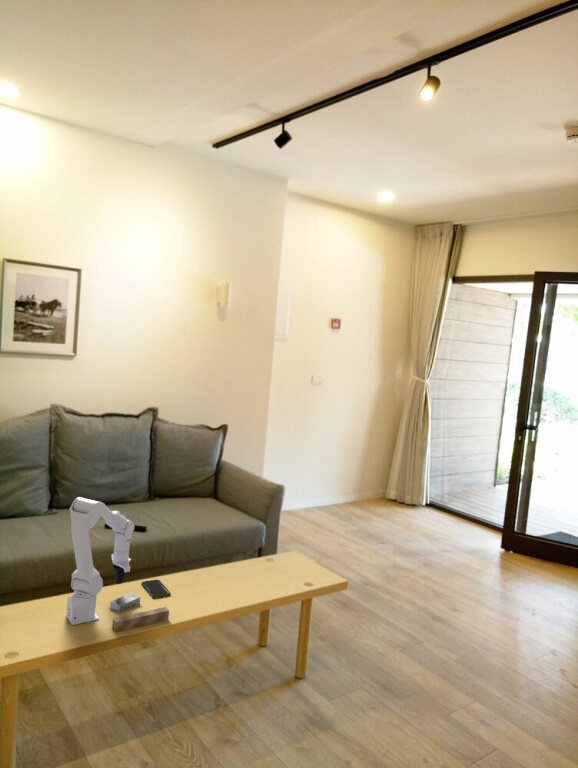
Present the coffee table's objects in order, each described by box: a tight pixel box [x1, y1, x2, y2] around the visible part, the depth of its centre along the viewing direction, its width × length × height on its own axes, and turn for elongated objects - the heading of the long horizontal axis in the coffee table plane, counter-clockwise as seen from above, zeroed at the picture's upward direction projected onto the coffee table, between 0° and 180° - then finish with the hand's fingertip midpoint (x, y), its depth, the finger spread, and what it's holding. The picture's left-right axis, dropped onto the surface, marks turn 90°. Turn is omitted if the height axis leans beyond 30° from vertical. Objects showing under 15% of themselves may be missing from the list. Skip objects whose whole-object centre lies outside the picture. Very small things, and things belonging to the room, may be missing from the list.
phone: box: [140, 579, 171, 600], centre depth 227 cm, size 8×1×15 cm
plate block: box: [109, 592, 141, 613], centre depth 211 cm, size 10×5×3 cm, turn 147°
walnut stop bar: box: [111, 606, 170, 633], centre depth 199 cm, size 20×3×4 cm, turn 128°
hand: (118, 583), depth 217 cm, fingers closed
